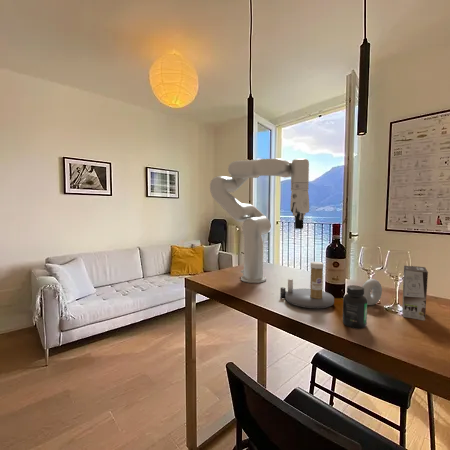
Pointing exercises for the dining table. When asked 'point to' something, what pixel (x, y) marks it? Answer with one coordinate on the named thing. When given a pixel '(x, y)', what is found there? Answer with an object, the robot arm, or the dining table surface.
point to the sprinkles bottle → (316, 280)
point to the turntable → (307, 297)
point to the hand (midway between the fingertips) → (299, 228)
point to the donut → (376, 291)
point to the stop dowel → (282, 293)
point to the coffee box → (414, 292)
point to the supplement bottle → (355, 307)
